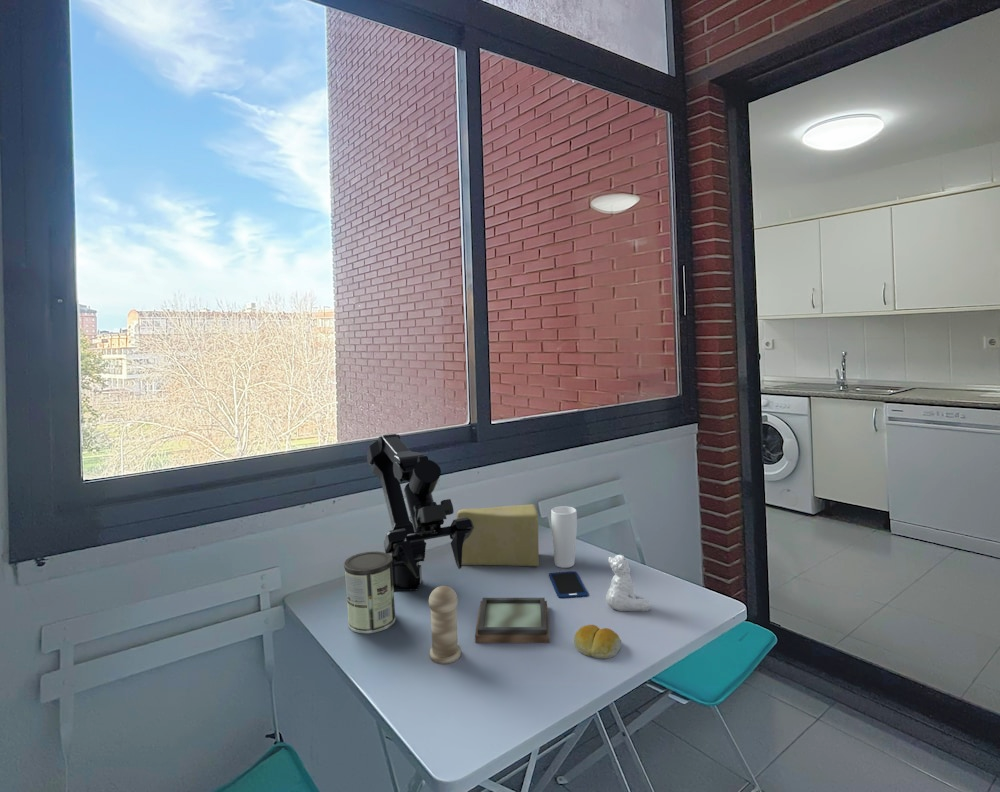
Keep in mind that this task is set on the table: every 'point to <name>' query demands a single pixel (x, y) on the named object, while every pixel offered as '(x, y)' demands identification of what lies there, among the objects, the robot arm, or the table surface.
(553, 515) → the drinking glass
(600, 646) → the bread roll
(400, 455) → the robot arm
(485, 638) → the picture frame
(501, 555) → the cheese
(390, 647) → the table surface
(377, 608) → the coffee can
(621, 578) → the sitting furry creature
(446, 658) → the beige round-topped cylinder
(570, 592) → the cell phone
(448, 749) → the table surface
